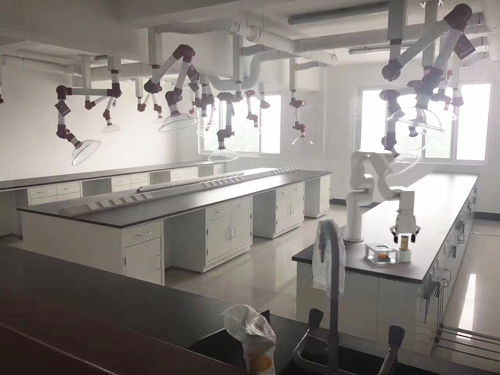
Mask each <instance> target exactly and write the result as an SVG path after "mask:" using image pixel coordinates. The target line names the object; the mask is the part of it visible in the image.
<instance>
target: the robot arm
mask: <svg viewBox="0 0 500 375" xmlns="http://www.w3.org/2000/svg"><path fill="white" fill-rule="evenodd" d="M394 161H395V157H394V154H393V153H392V151H389V150H383V149H377V148H375V149H373V148H371V149H366V148H365V149H356V150H355V151H353V152H352V154H351V155H350V165H351V166H350V167H351V168H350V179H349V187H350V189H352V190H354V191H350V192H348V193H347V194H346V196H345V204H346V227H345V230H346V231H345V233H346V234H345V236H343V240H344V241H347V242H352V243H355V242H356V243H360V242H363V241H364V240H365V239H364V237H363V236H362V227H363V226H362V224H363V223H362V222H363V212H362V210H361V208H360V207H362V206H363V207H364V206H370V205H371V204H372V203H373V200H374V193H375V185H376V186H377V187H376V188H377V190H378V192H379V194H380V196H381V197H382V199H384V201H386V202H393V201H398V202H399V203H398V209H396V211H395V212H396V213H397V215H396V218H395V224H394V225H392V226H391V227H389V231H390V233H391V234H392V235H393V243H394V244H397V245H398V244H399V236H398V235H400V234H411V235H410V242H411V243H413V244H415V243H416V238H417V235H419V233H420V231H421V227H420V226H419V225H417V219H416V218H417V217H416V214H414V212H415V196H416V191H415V189H411V188H407V187H405V186H391V187H390V186H389V185H388V183H387V181H386V179H388V178H390V176H392V175H393V173H394V172H393V171H394V170H393V168H392V166H391V165H392V164H393V163H394ZM364 164H371V166H372V168H373V169H374V171H375V173H376V175H377V176H378V178H377V182H376V184H375V179H374V177H373V175H371V174H365V173H366V167H365V165H364Z"/></svg>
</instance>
